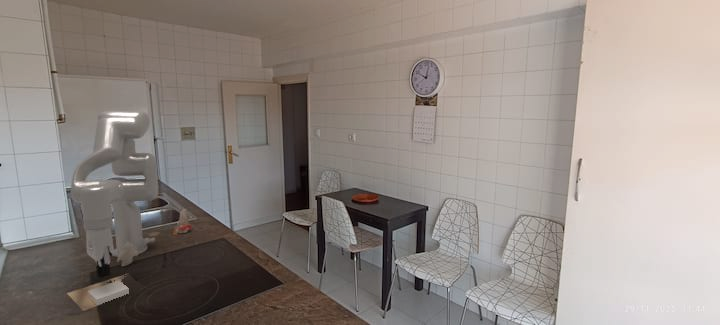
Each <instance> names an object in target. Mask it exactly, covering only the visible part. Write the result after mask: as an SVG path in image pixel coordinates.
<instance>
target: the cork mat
mask: <svg viewBox="0 0 720 325" xmlns="http://www.w3.org/2000/svg"><path fill="white" fill-rule="evenodd" d="M127 274H128V273H125V274H121V275H119V276H116V277H113V278H110V279H108V280H104V281H101V282H97V283H94V284H91V285H88V286H86V287H83V288H79V289H76V290H73V291H70V292H67V293H66V295H68V296H69V297H70V298H71V299H72V301H73V302H75V304H76V305H77V307H79V308H80V309H81V310H82V311H83V312H84V311H87V310H90V309H93V308H96V307H99V306H101V305H102V304H100V305H96V304H95V303H94V302H93V301H92V300H91V299H90V298H89V297H88V291H90V290H93V289H95V288H98V287H101V286H104V285H107V284H110V283H107V282H109V281H110V280H111V281H112V283H113V282H116V281H122V279H124V277H126V276H124V275H127ZM114 280H115V281H114ZM122 283H123V282H122Z"/></svg>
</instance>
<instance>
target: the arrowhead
mask: <svg viewBox="0 0 720 325" xmlns="http://www.w3.org/2000/svg"><path fill="white" fill-rule="evenodd" d="M138 255H139V254H138V253H137V250H136V249H135V248H134V246H133V245H132V244H131V243H130V242H127V243H126V244H125V245H124V247H123V248H122V249H121V251H120V254H119V256H118V257H116V258H117V259H116V263H119V262H120V261H121V267H125V266H128V265H131V264H132V263H133V258H134V257H138Z"/></svg>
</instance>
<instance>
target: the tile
mask: <svg viewBox="0 0 720 325" xmlns="http://www.w3.org/2000/svg"><path fill="white" fill-rule="evenodd" d="M126 294H128V295H130V294H129V288H128V287H127V286H126V285H124V284H123V283H122V282H121V281H116V282H113V283H110V284H107V285H104V286H101V287H98V288H95V289H93V290H90V291H88V297H89V298H90V299H91V300H92V301H93V302H94V303H95V304H96V305H98V306H101V305H104V304H106V303H105V302H107V303H109V302H112V301H114V300H113V299H115V300H117V299H119V297H120V298H123V297H125V296H127V295H126ZM124 295H125V296H124ZM122 296H123V297H122ZM116 298H117V299H116ZM111 300H112V301H111ZM108 301H109V302H108ZM103 303H104V304H103ZM100 304H101V305H100Z"/></svg>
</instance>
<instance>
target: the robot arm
mask: <svg viewBox="0 0 720 325" xmlns="http://www.w3.org/2000/svg"><path fill="white" fill-rule="evenodd" d="M96 123H97V124H96V129H95V135H94V144H93V151H92V152H91V153H90V154H89V155H88V156H86V157H85V158H84V159H83V160H82V161H80V163H79V164H78V165H77V166H76V167H75V169H74V171H73V173H72V178H71V179H72V180H71V185H70V197H71V199H72V201H74V203H77V204H81V210H82V220H83V230H84V231H85V240H86V241H85V242H86V254H87V255H88V256H89V257H90V258H91V259H93V260H94V261H95V265H96V267H95V268H96V276H97V278H99V279H102V278H104V277H108V276H110V275H111V270H110V269H111V267H110V263H111V258H112V257H115V258H118V256H119V254H120V251H121V249H122V248H123V247H124V245H125V244H126V243H127V242H130V243H131V244H132V245H133V246H134V248H135V249H136V250H137V253H138V255H141V254H143V253H145V252H146V251H147V250H148V244H152V243H154V242H155V241H156V238H155V237H151V238H150V237H146V238H143V228H142V226H143V224H142V216H141V212H142V211H141V210H140V207H139V206H138V205H137V204H136V203H135V202H147V201H153V200H156V199H157V197H158V194H159V183H158V182H159V181H158V166H157V159H156V157H155V155H154V154H152V153H149V152H136V142H135V140H136V139H141V138H143V137H144V136H145V134H146V132H148V130H149V127H150V118H149V115H148V113H146V112H144V111H143V110H142V111H141V110H105V111H101V112H99V113H98V115H97V122H96ZM134 139H135V140H134ZM107 165H111V171H112V173H113V174H114V175H115V176H119V177H133V176H134V177H136V176H138V177H139V176H143V178H125V179H124V178H123V179H94V180H87V178H88V177H89V175H90V174H91V173H93V172H94V171H96V170H98V169H100V168H103V167H105V166H107ZM113 226H114V235H115V246H116V248H114V240H113V233H112V230H111V229H112V227H113Z"/></svg>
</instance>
